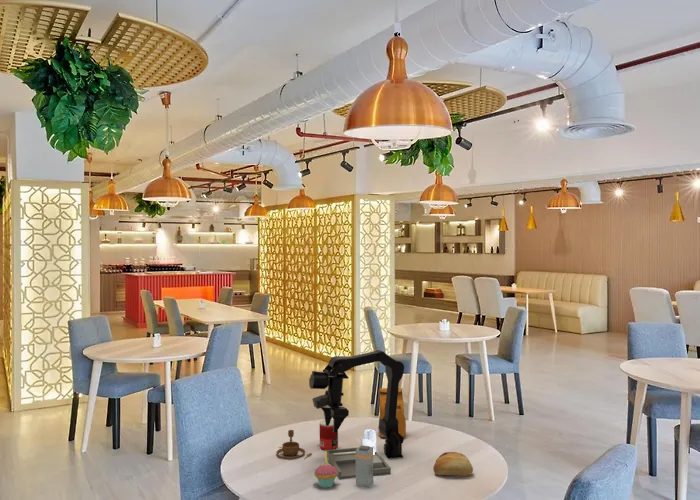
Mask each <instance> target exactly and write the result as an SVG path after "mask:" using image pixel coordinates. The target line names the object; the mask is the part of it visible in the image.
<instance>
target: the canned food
mask: <svg viewBox="0 0 700 500" xmlns="http://www.w3.org/2000/svg"><path fill="white" fill-rule="evenodd" d="M338 446H339V430H338V431H337V432H334V425H333V419H331V421H330V424H329V426H326V423H325V419H324V420H321V421H319V448H320V450H322V451H326V450H334V449H339V448H338Z"/></svg>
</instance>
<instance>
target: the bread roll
mask: <svg viewBox="0 0 700 500" xmlns="http://www.w3.org/2000/svg"><path fill="white" fill-rule="evenodd" d="M432 469H433V472H434V474H436V475H438V476H457V477H458V476H459V477H469V476H471V475H472V474H473V471H474V466H473V465H472V463H471V461H470V459H469V458H468V457H467V456H466V455H465V454H463V453H461V452H457V451H448V452H446V451H445V452H443V453H442V454H440V455H439V456H438V457H437V459H436V460H435V462H434V465H433V468H432Z"/></svg>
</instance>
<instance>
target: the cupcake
mask: <svg viewBox="0 0 700 500" xmlns="http://www.w3.org/2000/svg"><path fill="white" fill-rule="evenodd" d="M324 454H325V456H324V457H325V458H324V459H325V464H321V465H319V466H317V467H316V468H315V470H314V476H315V478H316V479H317V481H318V485H319V487H322V488H331V487H332V486H333V485H334V482H335V479H336V477H337V478H338V476H337V475H338V470H337V469H336V467H334V466H332V465H331V464H328V458H327V453H326V452H325V453H324Z"/></svg>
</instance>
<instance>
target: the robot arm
mask: <svg viewBox="0 0 700 500" xmlns="http://www.w3.org/2000/svg"><path fill="white" fill-rule="evenodd" d="M377 362H379V363H381V364H382V365H383V366H384V369H385V376H386V379H387V386H386V388H387V395H386V406H385V415H384V417H383V419H379V418H378V427H377V429H378V430H379V429H380V433H381V434H382V435H383V436H384V437H383V439H385V441H384V444H383V454H384V456H385V457H386V458H387V459H388V460H391V459H400V458H401V459H402V458H404V455H403V445H402V444H403V443H404V440H405V437H404V438H403V437H402V436H401V435H400V434H399V429H398V423H397V419H396V411H397V400H398V389H399V386H400V381H402V378H403V376H404V372H405V364H404V363H403V362H402V361H400V360H398V359H395V358H393V357H391V356H390V355H388V354H387V353H386V352H385V351H383V350H380V349H377V350H376V349H375V350H374V351H370V352H365V353H361V354H356V355H352V356H351V355H350V356H345V355H341V356H340V355H338V356H335V355H334V356H332V357H331V358H330V359H329V361H328V364H326V366H325V367H324V369H322V371H318V370H317V371H316V370H312V371H311V374H310V377H309V379H308V383H309V384H308V385H309V386H308V387H309V389H313V390H314V389H315V390H325V389H327V390H325V392H324V394H322V395H318V396H315V397H313V398H312V403H313V407H314V408H316V409H318V410H319V409H320V410H321V411H323V416H324V420H325V423H326V426H329V424H330V421H331V420H333V425H334V432H337V431H338V432H339V429H340V427H341V425H342V424H343V422H344V420H346V418H347V417H349V413H350V411H349V409H348V408H347V407H345V406H343V403H342V397H344V394H345V393H344V392H343V384H344V380H345V379H347V380H348V379H349V376H348V375H347V374H346V372H347V371H349V370H351V369H352V368H355V367H359V366H360V367H361V366H363V365H368V364H372V363H377Z"/></svg>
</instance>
